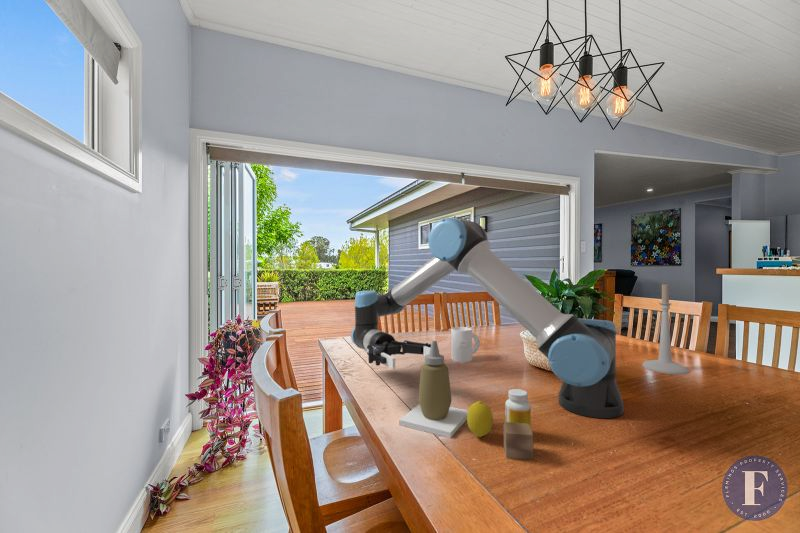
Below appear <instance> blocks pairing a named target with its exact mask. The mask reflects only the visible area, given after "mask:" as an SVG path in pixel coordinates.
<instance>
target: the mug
mask: <svg viewBox="0 0 800 533" xmlns="http://www.w3.org/2000/svg"><path fill="white" fill-rule="evenodd" d="M450 330H451V332H450V339H451V340H450V342H451V343H450V344H451V345H450V348H451V350H450V353H451V354H450V355H451V356H450V357H451V360H452V361H453V362H456V363H470V362H472V361H473V355H474V354H476V352H477V351H478V350H479V348H480V345H481V339H480V338H479V335H477V334H476V333H475V332H473V329H472V328H471V327H467V326H455V327H452V328H451V329H450ZM473 340H474V345H473Z"/></svg>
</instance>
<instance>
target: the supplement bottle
mask: <svg viewBox="0 0 800 533" xmlns="http://www.w3.org/2000/svg"><path fill="white" fill-rule="evenodd" d="M507 393H508V399H506V401H505V402H504V403H505V404H504V416H505V417H504V422H509V423H524V424H529V426H530V429H531V430H532V428H531V427H532V426H531V425H532V424H531V422H532V420H531V419H532V418H531V417H532V416H531V415H532V414H531V412H532V411H531V409H532V408H531V403H530V402H529V401H528V399H529V398H528V396H529V395H528V392H527V391H526V390H525V389H524V390H523V389H520V388H512V389H509V390H508V392H507Z"/></svg>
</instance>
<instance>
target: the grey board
mask: <svg viewBox="0 0 800 533" xmlns="http://www.w3.org/2000/svg"><path fill="white" fill-rule="evenodd" d="M468 410H469V409H463V408H457V407H453V406H450V408H449V411H448V414H447V416H446V417H445V418H442V419H429V418H426V417H424V415H423V413H422V410H421V407H420V404H419V403H418V404H417V405H416V406H415V407H414V408H413V409H411V410H410V411H409V412H407V413H406V414H404V415H403V416H402V417H401V418H399V419H398V425H399V426H401V427H406V428H410V429H413V430H418V431H422V432H425V433H429V434H433V435H438V436H441V437H445V438H450V439H451V438H452V437H453V436H454V435H455V433H456V432H457V431H458V430H460V428H461V427H462V426H463V425H464V423H465V422H467V413H468Z"/></svg>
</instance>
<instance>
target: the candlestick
mask: <svg viewBox="0 0 800 533" xmlns="http://www.w3.org/2000/svg"><path fill="white" fill-rule="evenodd" d="M659 305H660V309H661V311H662V312H661V318H660V319H661V320H660V335H659V336H660V337H659V352H658V359H651V360H647V361H645V362H643V364H642V367H643V368H645V369H646V370H647V371H648V370H649V371H652V372H655V373H656V372H657V373H661V374H667V375H668V374H669V375H686V374H688V373H689V368H688V367H686V366H685V365H683V364H680V363H678V362H675V361H673V359H672V350H671V349H672V348H671V346H672V345H671V333H670V330H671V329H670V328H671V327H670V316H669V315H670V314H669V310H670V309H671V307H670V306H671V305H672V303H670V284H668V283H667V284H666V282H665V283H663V284H661V302H659Z"/></svg>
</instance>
